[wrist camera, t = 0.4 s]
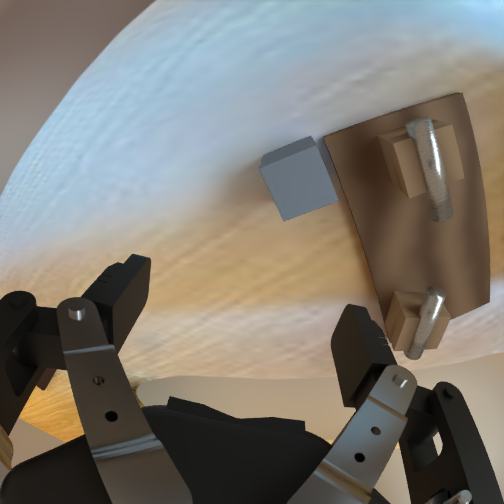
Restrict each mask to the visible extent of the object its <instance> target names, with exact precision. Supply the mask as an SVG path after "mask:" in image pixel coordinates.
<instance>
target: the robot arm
mask: <svg viewBox="0 0 504 504" xmlns="http://www.w3.org/2000/svg"><path fill="white" fill-rule="evenodd" d="M150 269H151V259H150V258H148V257H144V256H140V255H136V254H132V255H131V256H130V257H129V258H128V259H127V260H126V261H125V262H124V264H122V263H119V262H117V263H115V264H113V265H111V266H109V267H107V268H106V269H105V270H104V272H103V273H102V275H100V276H99V277H98V278H97V280H95V281H94V283H93V284H92V285H91V286H90V287H89V288H88V289H87V290H86V291H85V293H84V294H83V295H82V296H81V297H73V298H68V299H66V300H64V301H62V302H61V303H60V304H59V305H58V307H57V308H49V307H40V306H37V304H36V299H35V297H34V296H33V295H32V294H31V293H29V292H26V291H14V292H11V293H8V294H7V295H5V296H4V297H3V298H2V299H1V300H0V504H390V503H389V502H388V501H387V500H386V499H385V498H384V497H383V496H382V495H381V494H380V493H379V492H378V491H377V490H376V489H375V488H374V486H375V485H376V483H377V481H378V479H379V477H380V476H381V474H382V472H383V470H384V468H385V466H386V464H387V463H388V461H389V459H390V457H391V455H392V453H393V451H394V449H395V447H396V445H397V443H398V442H399V446H400V450H401V455H402V459H403V464H404V469H405V474H406V478H407V484H408V489H409V494H410V500H411V504H504V501H503V498H502V495H501V492H500V489H499V485H498V483H497V480H496V477H495V473H494V471H493V468H492V465H491V463H490V460H489V457H488V454H487V452H486V449H485V446H484V444H483V441H482V439H481V436H480V434H479V432H478V429H477V427H476V425H475V422H474V420H473V418H472V415H471V413H470V411H469V409H468V406H467V404H466V402H465V400H464V397H463V395H462V393H461V392H460V391H459V389H457V388H456V387H455V386H454V385H452V384H451V383H448V382H439V383H437V384H436V386H435V387H434V388H433V390H430V389H427V388H424V387H421V386H418V385H417V380H416V378H415V376H414V375H413V374H412V373H411V372H410V371H409V370H407V369H406V368H404V367H402V366H399V365H397V362H396V360H395V358H394V355H393V353H392V351H391V349H390V346H388V342H387V340H386V339H385V335H384V333H383V331H382V329H381V328H380V327H379V326H378V325H377V323H376V322H375V321H373V320H371V318H370V316H369V313H368V311H367V309H366V308H365V307H362V306H357V305H352V304H348V305H346V307H345V309H344V311H343V313H342V315H341V317H340V319H339V322H338V324H337V326H336V328H335V330H334V332H333V335H332V339H331V350H332V354H333V359H334V363H335V368H336V372H337V377H338V381H339V385H340V390H341V395H342V400H343V404H344V407H353V408H355V409H356V412H355V413H354V414H353V416H352V417H351V418H350V420H349V421H348V423H347V424H346V425H345V427H344V428H343V430H342V431H341V432H340V434H339V435H338V436H337V438H336V439H335V440H334V442H333V443H332V444H329V443H328V442H327V441H325V440H324V439H322V438H321V437H319V436H317V435H315V434H312V433H310V432H308V431H305V421H301V420H292V419H283V418H276V417H265V418H245V419H240V418H235V417H232V416H230V415H227V414H225V413H222V412H220V411H217V410H215V409H213V408H210V407H208V406H206V405H204V404H200V403H195V402H191V401H187V400H182V399H179V398H175V397H171V396H170V397H169V400H168V404H167V405H154V406H145V407H141V408H140V405H139V403H138V401H137V399H136V397H135V395H134V392H133V390H132V388H131V386H130V383H129V381H128V379H127V376H126V374H125V372H124V369H123V367H122V364H121V362H120V359H119V357H118V353H119V351H120V349H121V347H122V345H123V344H124V342H125V340H126V338H127V336H128V335H129V333H130V331H131V329H132V327H133V326H134V324H135V322H136V320H137V319H138V317H139V315H140V313H141V312H142V310H143V308H144V306H145V304H146V301H147V298H148V292H149V281H150ZM46 368H52V369H61V370H67V372H68V376H69V380H70V384H71V388H72V392H73V396H74V400H75V403H76V407H77V410H78V414H79V417H80V420H81V423H82V427H83V430H84V433H85V434H84V435H82V436H80V437H77V438H75V439H73V440H71V441H69V442H67V443H65V444H62V445H60V446H58V447H56V448H54V449H52V450H49V451H47V452H45V453H43V454H40V455H38V456H35V457H33V458H31V459H28V460H26V461H24V462H22V463H20V464H18V465H16V466H15V467H14V468H12V467H11V461H12V457H13V451H14V450H13V445H12V442H11V440H10V438H9V437H8V436H9V434H10V432H11V430H12V428H13V427H14V425H15V423H16V421H17V419H18V417H19V415H20V413H21V411H22V410H23V408H24V406H25V404H26V402H27V400H28V399H29V397H30V395H31V393H32V392H33V390H34V388H35V386H36V385H37V383H38V381H39V379H40V378H41V376H42V374H43V373H44V371H45V369H46ZM437 432H439V434H440V437H441V440H442V443H443V447H442V451H441V453H440V455H439V456H438V454H437V451H436V448H435V444H434V441H433V437H434V436H435V435H436V434H437Z"/></svg>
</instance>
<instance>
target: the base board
mask: <svg viewBox="0 0 504 504" xmlns="http://www.w3.org/2000/svg"><path fill="white" fill-rule="evenodd" d="M425 117H428V118H431V120H432V123H433V126H434V130H435V133H436V137H437V141H438V144H439V148H440V152H441V156H442V160H443V164H444V168H445V173H446V177H447V182H448V187H449V192H450V197H451V203H452V208H453V217H452V218H451V219H449V220H447V221H444V222H434V221H432V220H431V219H430V215H429V210H428V206H427V201H426V197H425V192H428V190H427V186H426V182H425V178H424V174H423V170H422V166H421V163H420V159H419V155H418V152H417V149H416V145H415V142H414V139H413V137H410V136H409V135H408V132H407V129H406V126H405V124H406V123H407V122H409V121H411V120H414V119H418V118H425ZM323 140H324V142H325V144H326V147H327V149H328V152H329V154H330V157H331V159H332V162H333V164H334V167H335V169H336V172H337V174H338V177H339V180H340V182H341V185H342V188H343V190H344V193H345V196H346V199H347V201H348V204H349V207H350V210H351V213H352V216H353V218H354V221H355V224H356V227H357V230H358V233H359V236H360V239H361V242H362V246H363V249H364V252H365V255H366V258H367V262H368V265H369V268H370V272H371V275H372V278H373V282H374V285H375V289H376V293H377V296H378V300H379V304H380V307H381V311H382V315H383V319H384V323H385V327H386V331H387V335H388V339H389V342H390V343H392V347H393V350H394V351H406V350H409V348H410V345H411V343H412V340H413V338H414V335H415V333H416V330H417V328H418V325H419V323H420V320H421V317H420V316H419V309H420V306H421V304H422V301H423V298H424V295H425V292H426V289H427V288H428V287H431V286H434V287H438V288H440V289H442V290H443V291H444V292H445V293H446V297H445V300H444V303H443V305H442V308H441V311H440V313H439V316H438V318H437V321H436V323H435V326H434V328H433V330H432V333H431V335H430V337H429V340H428V342H427V344H426V347H425V349H437V347H438V345H439V343H440V341H441V339H442V337H443V334H444V332H445V330H446V328H447V325H448V323H449V321H450V320H451V319H453V318H456V317H458V316H460V315H463V314H465V313H467V312H469V311H472V310H474V309H476V308H478V307H480V306H482V305H485V304H487V303H489V302H490V250H489V233H488V220H487V210H486V201H485V193H484V186H483V180H482V174H481V168H480V162H479V157H478V152H477V147H476V143H475V138H474V134H473V130H472V125H471V122H470V118H469V114H468V110H467V107H466V103H465V100H464V97H463V93H454V94H451V95H447V96H444V97H440V98H437V99H433V100H430V101H426V102H423V103H420V104H416V105H413V106H410V107H407V108H404V109H400V110H397V111H394V112H391V113H388V114H385V115H382V116H379V117H376V118H373V119H370V120H367V121H365V122H362V123H359V124H356V125H353V126H350V127H348V128H345V129H342V130H339V131H337V132H334V133H331V134H329V135H326V136H323ZM425 349H424V350H425Z"/></svg>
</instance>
